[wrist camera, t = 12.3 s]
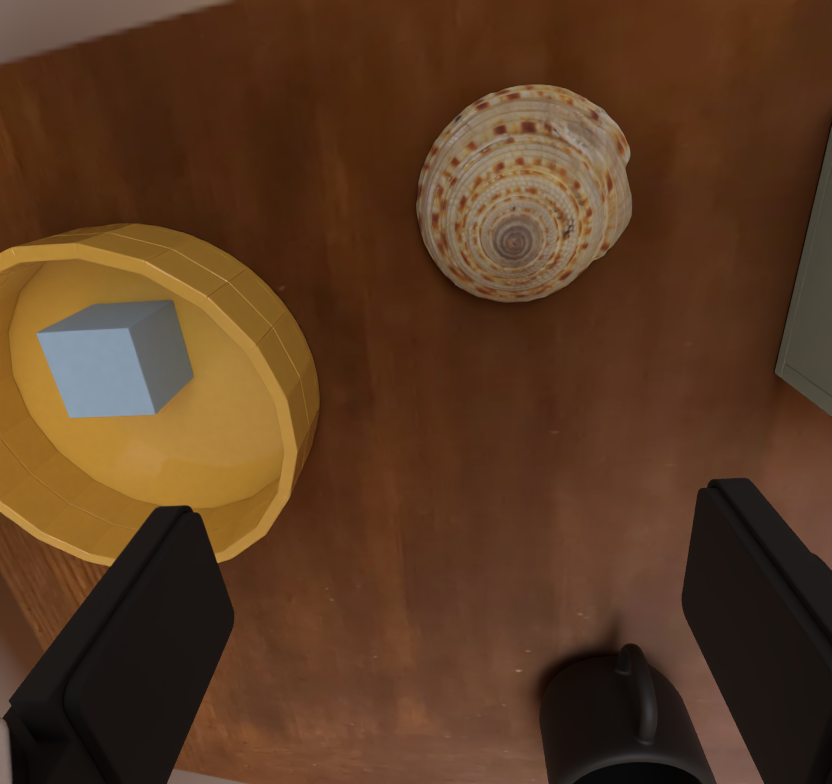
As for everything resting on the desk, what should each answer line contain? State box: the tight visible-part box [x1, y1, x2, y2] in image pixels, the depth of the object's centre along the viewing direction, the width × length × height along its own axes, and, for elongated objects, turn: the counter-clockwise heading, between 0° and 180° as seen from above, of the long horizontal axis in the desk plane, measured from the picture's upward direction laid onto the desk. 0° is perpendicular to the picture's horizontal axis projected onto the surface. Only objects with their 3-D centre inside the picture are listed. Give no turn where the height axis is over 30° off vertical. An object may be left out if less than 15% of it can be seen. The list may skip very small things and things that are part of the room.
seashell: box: [416, 85, 632, 302], centre depth 22 cm, size 8×6×8 cm
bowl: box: [0, 224, 320, 567], centre depth 26 cm, size 16×16×5 cm
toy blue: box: [36, 300, 194, 418], centre depth 25 cm, size 4×4×4 cm
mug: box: [539, 644, 717, 784], centre depth 33 cm, size 12×9×7 cm
